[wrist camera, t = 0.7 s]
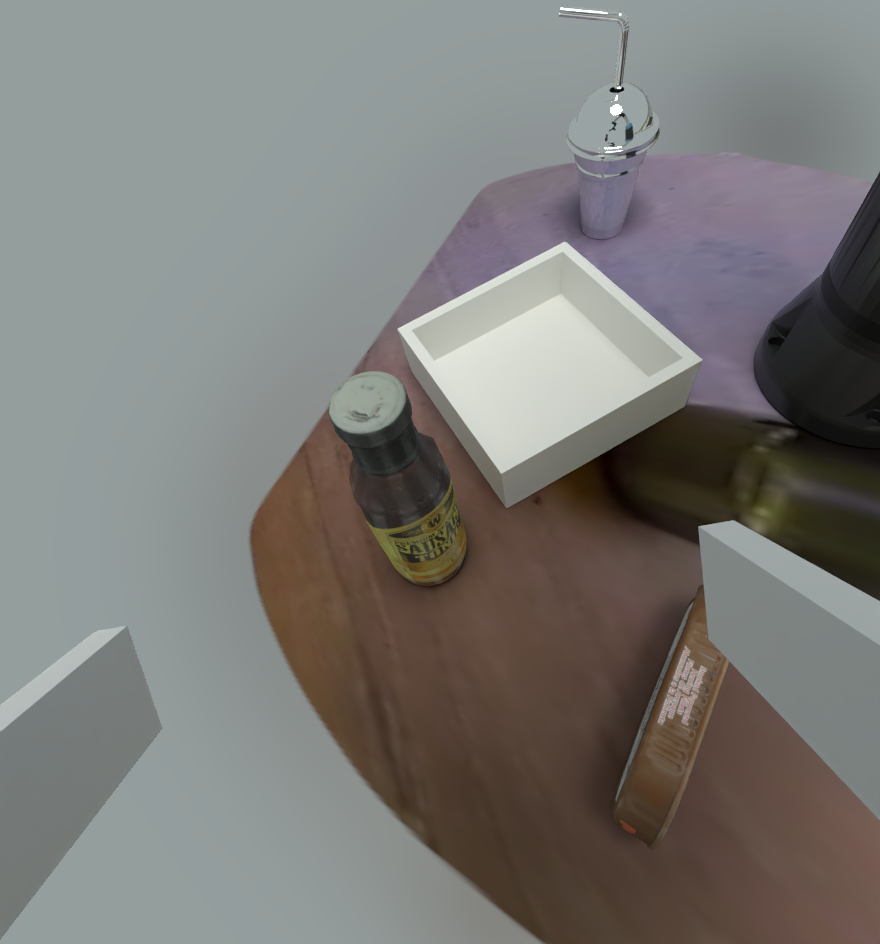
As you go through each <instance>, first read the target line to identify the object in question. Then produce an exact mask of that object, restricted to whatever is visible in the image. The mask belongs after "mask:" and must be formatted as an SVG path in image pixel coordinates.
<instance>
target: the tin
mask: <svg viewBox="0 0 880 944" xmlns="http://www.w3.org/2000/svg"><path fill="white" fill-rule="evenodd" d="M729 662H730V661H729V660H728V659H727V658H726V657H725V656H724V655H723V654H722V653H721V652H720V651H719V650H718V649H717V648H716V646H715V645H714V644H713V643H712V642H711V641H710V640H709V639H708V628H707V617H706V606H705V595H704V585H701V586H700V587H699V588H698V591H697V594H696V597H695V598H694V599H693V600H692V601H691V602H690V604H689V606H688V607H687V610H686V612H685V614H684V616H683V619H682V621H681V623H680V626H679V628H678V630H677V633H676V635H675V638H674V640H673V643H672V645H671V647H670V650H669V652H668V655H667V657H666V660H665V662H664V665H663V667H662V670H661V672H660V674H659V677H658V679H657V682H656V684H655V687H654V689H653V691H652V694H651V696H650V699H649V701H648V704H647V706H646V709H645V711H644V714H643V717H642V719H641V722H640V724H639V727H638V730H637V732H636V735H635V738H634V740H633V743H632V746H631V749H630V751H629V754H628V757H627V759H626V762H625V765H624V768H623V770H622V773H621V776H620V779H619V782H618V784H617V787H616V790H615V793H614V797H613V800H612V808H611V809H612V815H613V821H614V822H615V823H616V824H617V825H619V826H620V827H621V828H623V829H624V830H626V831H627V832H629V833H631V834H632V835H634V836H635V837H637V838H638V839H640V840H641V841H643V842H644V843H646V844H647V846H648V847H649V848H650V849H651V850H654V849H656V848H657V846H658V845H659V844H660V842H661V841H662V839H663V837H664V836H665V834H666V832H667V830H668V828H669V826H670V824H671V822H672V820H673V817H674V815H675V812H676V810H677V808H678V806H679V803H680V801H681V798H682V795H683V793H684V791H685V788H686V785H687V782H688V780H689V777H690V774H691V772H692V769H693V766H694V763H695V760H696V757H697V755H698V752H699V749H700V746H701V743H702V740H703V737H704V734H705V731H706V729H707V726H708V723H709V720H710V717H711V714H712V711H713V708H714V705H715V702H716V700H717V697H718V694H719V691H720V688H721V685H722V682H723V679H724V677H725V674H726V671H727V668H728V665H729Z"/></svg>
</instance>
